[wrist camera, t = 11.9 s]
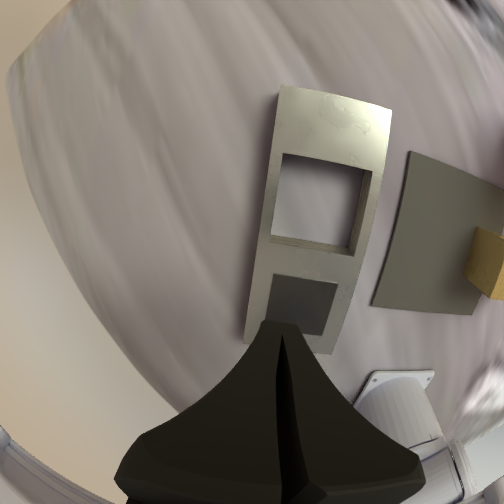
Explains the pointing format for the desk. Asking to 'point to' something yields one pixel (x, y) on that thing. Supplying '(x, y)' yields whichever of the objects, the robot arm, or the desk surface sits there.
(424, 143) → the desk surface
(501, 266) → the brass rectangular block
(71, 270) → the desk surface
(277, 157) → the grey plate with hole
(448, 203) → the mat
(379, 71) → the desk surface
